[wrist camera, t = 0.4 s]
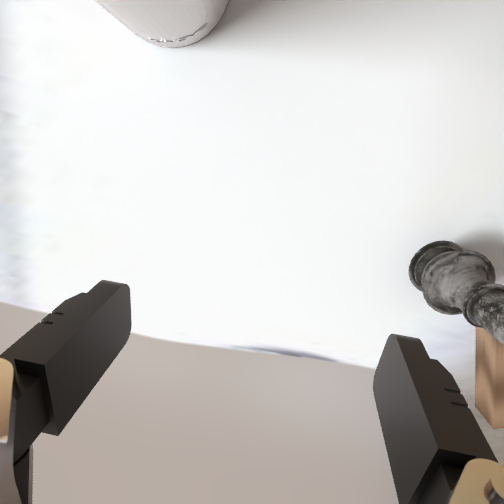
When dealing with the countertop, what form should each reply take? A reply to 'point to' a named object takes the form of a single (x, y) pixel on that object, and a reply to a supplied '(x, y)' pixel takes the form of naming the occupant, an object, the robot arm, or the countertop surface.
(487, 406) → the walnut plinth
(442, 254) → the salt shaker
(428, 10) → the countertop surface
